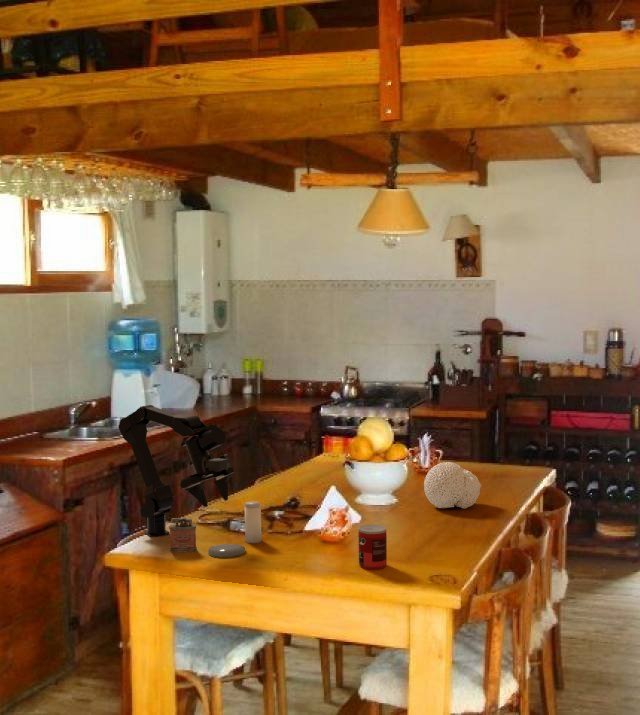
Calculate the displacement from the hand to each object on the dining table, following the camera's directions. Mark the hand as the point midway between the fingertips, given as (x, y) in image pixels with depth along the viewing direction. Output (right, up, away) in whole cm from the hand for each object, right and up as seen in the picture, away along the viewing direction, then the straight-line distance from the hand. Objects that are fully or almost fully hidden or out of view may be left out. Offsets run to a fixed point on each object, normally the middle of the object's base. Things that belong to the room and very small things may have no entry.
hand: (216, 503), depth 296 cm
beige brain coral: (+77, -8, +45) cm, 90 cm away
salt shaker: (+11, -13, +6) cm, 18 cm away
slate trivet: (+4, -14, -5) cm, 15 cm away
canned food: (+46, -15, -20) cm, 53 cm away
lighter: (-10, -14, -2) cm, 17 cm away
